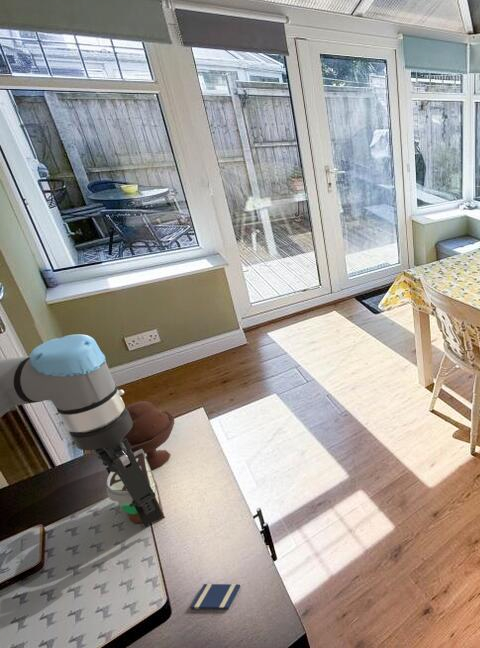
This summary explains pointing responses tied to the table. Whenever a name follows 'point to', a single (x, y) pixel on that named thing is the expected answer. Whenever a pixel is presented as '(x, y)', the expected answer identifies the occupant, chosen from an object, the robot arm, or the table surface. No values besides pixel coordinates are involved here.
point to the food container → (122, 496)
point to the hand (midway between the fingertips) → (139, 503)
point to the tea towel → (215, 596)
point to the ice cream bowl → (149, 431)
